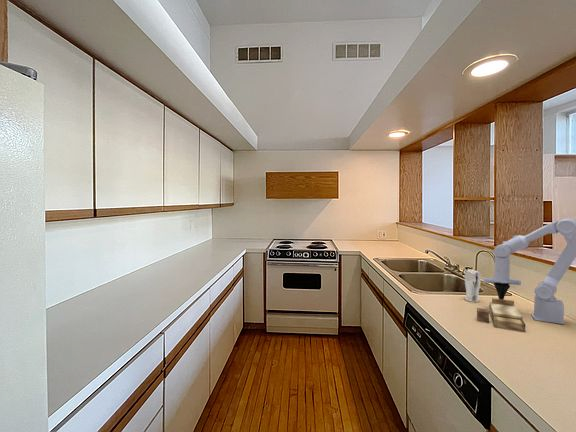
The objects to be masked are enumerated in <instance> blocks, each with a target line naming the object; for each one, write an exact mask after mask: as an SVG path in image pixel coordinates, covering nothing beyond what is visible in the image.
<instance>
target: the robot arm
mask: <svg viewBox="0 0 576 432" xmlns="http://www.w3.org/2000/svg"><path fill="white" fill-rule="evenodd" d="M558 233H559V234H560V235H562V236H563V238H564V240H565V241H566V243H567V244H566V245H565V247H564V249H563V250H562V252H561V254H560V255H559V257H557V260H556V261H555V263H554V264H553V266H552V267H551V269H550V270H549V272H548V273H547V275H546V277H545V278H544V279H543V281H541V282H539V283H538V284H537V286H535V288H534V294H535V295H534V300H533V301H534V303H533V304H534V305H533V312H532V313H530V315H531V316H532V318H533V320H535V321H540V322H546V323H551V324H552V323H553V324H560V325H564V324H565V322H564V320H565V318H564V315H565V305H564V301H562V300H560V299H558V298H557V297H556V296H555V294H556V292H557V289H558V288H557V287H558V284H559V283H560V282H561V280H562V278H563V277H564V276H565V274H566V273H567V271H568V270H569V268H570V266H572V263H573V262H574V261H575V259H576V219H574V218H572V217H565V218H563V219H560V220H556V221H553V222H550V223H547V224H544V225H543V226H541V227H540V228H537V229H536V230H534V231H531V232H530V233H528V234H526V235H513V236H512V238H511V239H509V240H507V241H502V243H501V244H497V245H496V246H495V247H494V248H493V253H494V258H495V259H494V275H493V277H483V278H482V283H484V284H493V285H494V287H495V291H496V292H497V296H498V298H497V299H503V300H505V296H506V294H507V291H509V289H511V288H510V287H511V286H510V285H514V286H521V285H522V281H521V280H519V279H512V278H510V272H511V271H510V269H511V268H510V267H511V265H510V264H511V261H510V258H511V257H510V256H511V254H514V253H517V252H519V251H521V250H523V249H525V248H527V247H529V244H530V243H531V242H533V241H535V240H537V239H539V238H542V237H543V236H544V237H545V236H546V235H548V234H549V235H550V234H551V235H552V234H555V235H556V234H558Z"/></svg>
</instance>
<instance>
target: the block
mask: <svg viewBox="0 0 576 432" xmlns="http://www.w3.org/2000/svg"><path fill="white" fill-rule="evenodd" d="M476 321H477V322H481V323H485V324H486V323H487V324H489V323H490V313H489V308H488V309H487V308H479V307H477V308H476Z"/></svg>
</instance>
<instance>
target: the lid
mask: <svg viewBox="0 0 576 432" xmlns="http://www.w3.org/2000/svg"><path fill="white" fill-rule="evenodd" d="M489 305H490V306H491V309H492V312H493V315H497V316H503V317H510V318H517V319H523V315H522V314H521V312H520V310H519V309H518V307H517V305H515V301H514V300H510V299H504V300H503V299H499V298H495V297H494V298H493V297H492V298H491V301H490V302H489Z"/></svg>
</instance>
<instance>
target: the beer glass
mask: <svg viewBox="0 0 576 432" xmlns="http://www.w3.org/2000/svg"><path fill="white" fill-rule="evenodd" d="M481 278H482V275H481V271H479V270H475V269H466V270H465V272H464V285H465V292H466V293H465V299H464V300H465V301H467V302H470V303H479V302H480V298H479V297H480V296H479V292H480V288H481V284H482V283H481V281H482V279H481Z"/></svg>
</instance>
